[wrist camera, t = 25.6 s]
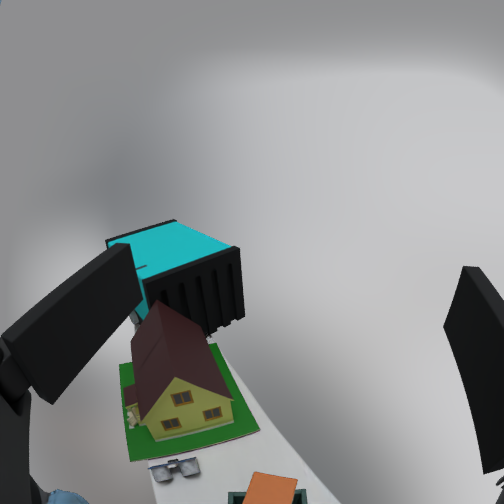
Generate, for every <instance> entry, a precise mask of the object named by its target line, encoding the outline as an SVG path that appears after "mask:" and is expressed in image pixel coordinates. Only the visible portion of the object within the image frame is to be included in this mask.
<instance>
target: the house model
mask: <svg viewBox="0 0 504 504" xmlns="http://www.w3.org/2000/svg"><path fill="white" fill-rule="evenodd" d="M131 352H132V362H129V363H124V364H119V371H120V385H121V397H122V407H123V416H124V424H125V432H126V439H127V445H128V451H129V457H130V462H134V461H141V460H147V459H152V458H158V457H163V456H168V455H173V454H178V453H182V452H187V451H191V450H195V449H199V448H203V447H207V446H210V445H214V444H218V443H221V442H225V441H228V440H231V439H235V438H238V437H241V436H244V435H247V434H250V433H253V432H256V431H259V430H260V428H259V426H258V424H257V423H256V421H255V419H254V417H253V415H252V413H251V411H250V410H249V408H248V406H247V404H246V402H245V400H244V398H243V396H242V394H241V392H240V390H239V388H238V386H237V384H236V382H235V380H234V378H233V376H232V374H231V372H230V370H229V368H228V366H227V364H226V362H225V360H224V358H223V356H222V354H221V352H220V350H219V348H218V346H217V343H213V344H209V345H208V342H207V340H206V338H205V335H204V333H203V331H202V328H201V326H199V325H198V324H196V323H194V322H193V321H191V320H189V319H188V318H186V317H184V316H183V315H181V314H179V313H178V312H176V311H174V310H173V309H171V308H170V307H168V306H166V305H165V304H163V303H162V302H160V301H158V300H157V299H156V301H155V303H154V304H153V306H152V307H151V309H150V311H149V312H148V314H147V315H146V317H145V319H144V320H143V322H142V324H141V325H140V327H139V328H138V330H137V332H136V333H135V335H134V337H133V338H132V340H131Z"/></svg>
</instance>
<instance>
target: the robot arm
mask: <svg viewBox="0 0 504 504" xmlns="http://www.w3.org/2000/svg"><path fill="white" fill-rule="evenodd" d="M0 4H1V0H0ZM142 300H143V296H142V292H141V288H140V284H139V280H138V276H137V272H136V268H135V263H134V259H133V255H132V250H131V245H130V243H115V244H114V245H112V246H111V247H110V248H108V249H107V250H105V251H104V252H103V253H101V254H100V255H99V256H97V257H96V258H95V259H93V260H92V261H90V262H89V263H88V264H86V265H85V266H84V267H82V268H81V269H80V270H78V271H77V272H76V273H75V274H73V275H72V276H71V277H69V278H68V279H67V280H66V281H64V282H63V283H62V284H60V285H59V286H58V287H57V288H56V289H54V290H53V291H52V292H51V293H49V294H48V295H47V296H46V297H44V298H43V299H42V300H41V301H40V302H38V303H37V304H36V305H35V306H34V307H33V308H31V309H30V310H29V311H28V312H27V313H25V314H24V315H23V316H22V317H21V318H20V319H19V320H17V321H16V322H15V323H14V324H13V325H12V326H11V327H9V328H8V329H7V330H6V331H5V332H4V333H3V334H2V335H1V337H0V504H89V503H88V502H87V501H86V500H85V499H84V498H82V497H81V496H80V495H78V494H76V493H71V492H68V491H62V490H59V489H57V490H55V491H53V492H51V493H47V492H44V491H43V490H42V489H41V488H40V487H39V486H38V485H37V483H36V482H35V481H34V480H33V478H32V477H31V476H30V474H29V425H30V409H31V393H30V392H29V390H28V388H29V387H30V386H32V387H33V388H34V390H35V391H36V393H37V394H38V395H39V397H40V398H42V399H44V400H45V401H47V402H48V403H50V404H52V405H53V404H54V403H55V402H56V400H57V399H58V397H60V395H61V394H62V393H63V392H64V390H65V389H66V388H67V387H68V386H69V384H70V383H71V382H72V381H73V379H74V378H75V377H76V376H77V375H78V373H79V372H80V371H81V370H82V369H83V367H84V366H85V365H86V364H87V363H88V362H89V360H90V359H91V358H92V357H93V356H94V354H95V353H96V352H97V351H98V350H99V349H100V348H101V346H102V345H103V344H104V343H105V342H106V340H107V339H108V338H109V337H110V336H111V335H112V334H113V333H114V332H115V330H116V329H117V328H118V327H119V326H120V325H121V324H122V323H123V321H124V320H125V319H126V318H127V317H128V316H129V315H130V314H131V312H132V311H133V310H134V309H135V308H136V307H137V306H138V305H139V304H140V303H141V301H142ZM443 328H444V330H445V333H446V335H447V338H448V341H449V343H450V346H451V349H452V352H453V355H454V357H455V360H456V363H457V366H458V369H459V372H460V375H461V378H462V382H463V385H464V388H465V392H466V395H467V399H468V402H469V406H470V410H471V414H472V418H473V422H474V426H475V431H476V435H477V440H478V445H479V450H480V456H481V462H482V467H483V474H487V473H490V472H494V471H497V470H500V469H503V468H504V300H503V299H502V298H501V296H500V295H499V293H498V292H497V290H496V289H495V288H494V286H493V285H492V283H491V282H490V281H489V279H488V278H487V277H486V276H485V274H484V273H483V272H482V270H481V269H480V268H479V267H470V266H463V268H462V271H461V275H460V278H459V282H458V285H457V289H456V291H455V295H454V298H453V301H452V304H451V307H450V309H449V312H448V315H447V318H446V320H445V323H444V326H443ZM502 482H504V476H503V477H502V478H500V479H499V481H498V482H497V483H496V485H497V486H498V485H500V484H501V483H502ZM501 488H502V489H503V490H502V492H501V494H500V496H499V498H498V500H497V502H496V504H504V485H503V486H502V487H501Z"/></svg>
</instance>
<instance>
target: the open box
mask: <svg viewBox="0 0 504 504" xmlns="http://www.w3.org/2000/svg"><path fill="white" fill-rule="evenodd" d="M246 493H247V492H228V504H242V503H243V501H244V498H245V495H246ZM292 504H307V496H306V489H298V490H295V494H294V497H293V501H292Z"/></svg>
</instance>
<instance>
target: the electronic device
mask: <svg viewBox="0 0 504 504" xmlns="http://www.w3.org/2000/svg"><path fill="white" fill-rule="evenodd" d="M105 242H106V246H107V249H108V248H110V247H111V246H112V245H114V244H115V243H130V245H131V250H132V255H133V259H134V263H135V268H136V272H137V276H138V280H139V284H140V288H141V292H142V296H143V300H142V301H141V303H140V304H139V305H138V306H137V307H136V308H135V309H134V310H133V311H132V312H131V314H130V315H129V316H130V319H131V321H132V323H133V324H136V323H139V325H141V324H142V322H143V320H144V319H145V317H146V315H147V314H148V312H149V311H150V309H151V307H152V306H153V304H154V303H155V301H156V299H157V300H158V301H160V302H162V303H163V304H165V305H166V306H168V307H170V308H171V309H173V310H174V311H176V312H178V313H179V314H181V315H183V316H184V317H186V318H188V319H189V320H191V321H193V322H194V323H196V324H198V325H199V326H201V328H202V331H203V333H204V334H206V333H209V334H212V333H214V332H216V331H217V328H218V327H220V326H223V327H226V326H228V325H230V324H231V321H232V320H234V319H236V320H240V319H241V318H243V317H245V308H244V296H243V283H242V271H241V258H240V248H238V247H236V246H229V245H227V244H225V243H223V242H220V241H218V240H216V239H214V238H211V237H209V236H207V235H205V234H203V233H200V232H198V231H196V230H193V229H191V228H189V227H187V226H185V225H182V224H180V223H178V222H177V220H174V219H173V220H169V221H165V222H162V223H159V224H156V225H152V226H149V227H145V228H142V229H139V230H135V231H132V232H129V233H126V234H122V235H119V236H116V237H113V238H110V239H107V240H105Z"/></svg>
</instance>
